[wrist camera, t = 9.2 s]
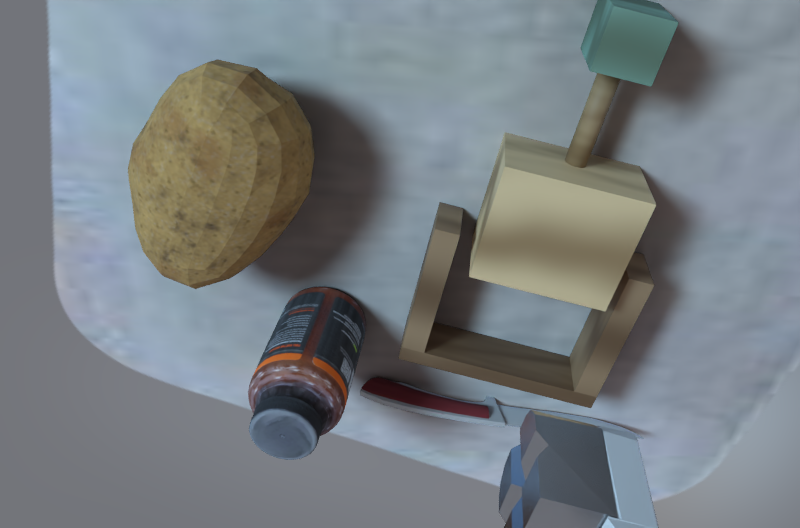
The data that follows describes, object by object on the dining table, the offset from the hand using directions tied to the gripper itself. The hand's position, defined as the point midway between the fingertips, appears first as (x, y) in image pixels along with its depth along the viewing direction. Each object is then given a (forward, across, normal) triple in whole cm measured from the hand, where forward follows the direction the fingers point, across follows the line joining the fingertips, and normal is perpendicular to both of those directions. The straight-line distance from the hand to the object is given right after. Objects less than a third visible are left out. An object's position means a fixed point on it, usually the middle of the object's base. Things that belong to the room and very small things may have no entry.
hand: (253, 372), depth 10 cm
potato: (+30, +10, +11) cm, 33 cm away
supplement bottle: (+30, +3, +22) cm, 37 cm away
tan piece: (+30, -10, +16) cm, 35 cm away
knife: (+30, -11, +26) cm, 41 cm away
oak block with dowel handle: (+30, -10, +5) cm, 32 cm away
